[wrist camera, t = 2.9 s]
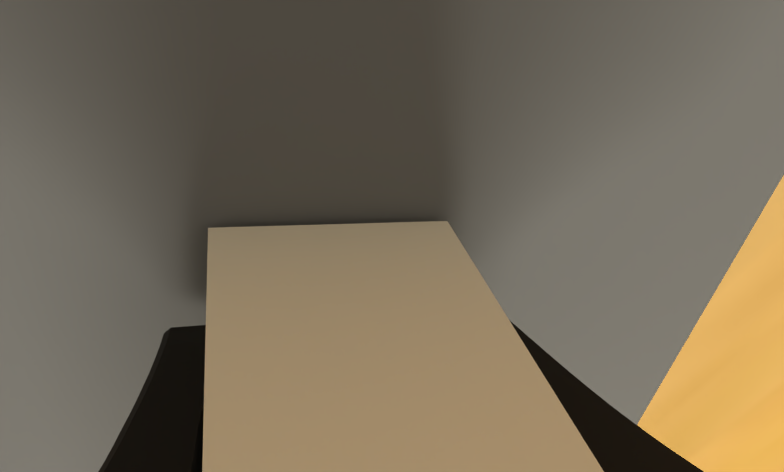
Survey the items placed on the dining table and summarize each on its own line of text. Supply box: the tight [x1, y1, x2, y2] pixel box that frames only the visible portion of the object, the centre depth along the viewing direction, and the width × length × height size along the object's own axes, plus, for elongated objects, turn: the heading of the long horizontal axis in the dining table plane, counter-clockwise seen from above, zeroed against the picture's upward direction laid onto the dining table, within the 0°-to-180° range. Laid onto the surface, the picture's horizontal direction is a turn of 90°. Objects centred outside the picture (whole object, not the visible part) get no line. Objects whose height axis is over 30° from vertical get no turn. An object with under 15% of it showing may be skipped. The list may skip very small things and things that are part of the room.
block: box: [202, 221, 604, 472], centre depth 9 cm, size 4×5×5 cm
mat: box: [0, 0, 784, 472], centre depth 13 cm, size 20×26×1 cm
